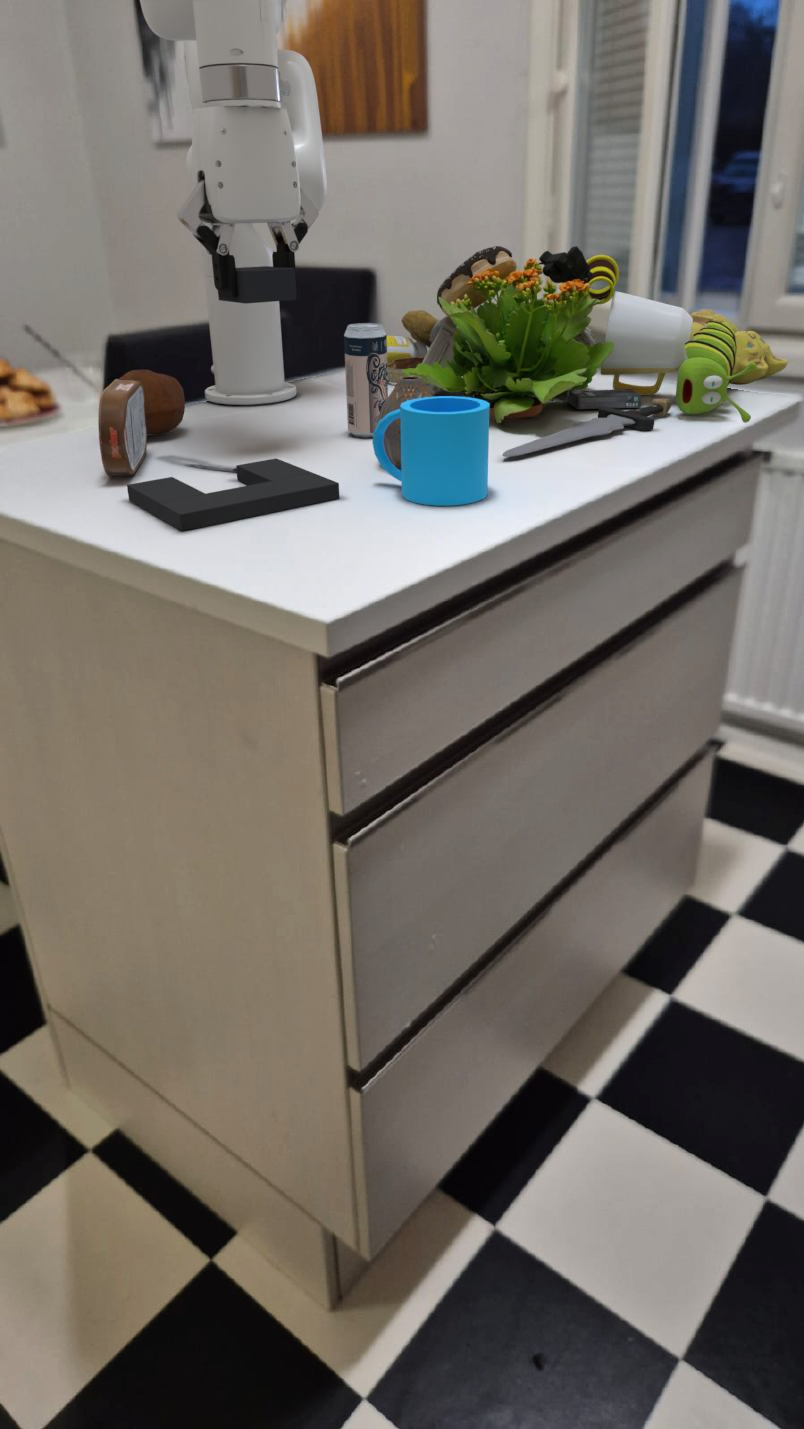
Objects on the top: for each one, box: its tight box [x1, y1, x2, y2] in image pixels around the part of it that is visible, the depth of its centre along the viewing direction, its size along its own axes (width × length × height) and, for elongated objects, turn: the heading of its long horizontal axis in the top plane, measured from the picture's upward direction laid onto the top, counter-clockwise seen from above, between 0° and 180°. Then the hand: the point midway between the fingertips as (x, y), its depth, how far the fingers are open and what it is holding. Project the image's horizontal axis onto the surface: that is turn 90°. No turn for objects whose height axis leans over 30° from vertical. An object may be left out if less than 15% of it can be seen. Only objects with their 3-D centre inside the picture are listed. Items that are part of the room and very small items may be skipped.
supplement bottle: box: [387, 335, 428, 364], centre depth 150 cm, size 5×5×10 cm
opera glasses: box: [558, 254, 620, 318], centre depth 127 cm, size 10×5×5 cm
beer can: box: [343, 322, 389, 438], centre depth 113 cm, size 5×5×12 cm
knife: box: [184, 463, 237, 474], centre depth 104 cm, size 17×1×3 cm
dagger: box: [502, 398, 672, 458], centre depth 113 cm, size 8×32×2 cm, turn 143°
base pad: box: [126, 457, 340, 532], centre depth 93 cm, size 12×16×2 cm
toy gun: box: [538, 245, 593, 284], centre depth 123 cm, size 20×3×6 cm
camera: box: [422, 305, 480, 397], centre depth 136 cm, size 11×6×10 cm
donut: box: [436, 245, 518, 316], centre depth 126 cm, size 11×12×4 cm
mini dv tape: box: [567, 389, 642, 410], centre depth 128 cm, size 8×2×6 cm
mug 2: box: [600, 290, 693, 396], centre depth 129 cm, size 14×10×10 cm
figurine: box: [678, 308, 788, 386], centre depth 139 cm, size 11×9×15 cm
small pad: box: [218, 266, 298, 304], centre depth 103 cm, size 6×6×3 cm
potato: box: [118, 369, 186, 436], centre depth 116 cm, size 8×11×8 cm
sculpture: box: [401, 309, 439, 349], centre depth 154 cm, size 13×4×15 cm
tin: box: [97, 378, 148, 477], centre depth 103 cm, size 15×3×8 cm, turn 5°
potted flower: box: [402, 258, 614, 424], centre depth 122 cm, size 25×24×18 cm
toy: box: [675, 320, 757, 424], centre depth 127 cm, size 8×28×10 cm
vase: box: [378, 376, 434, 469], centre depth 101 cm, size 7×7×9 cm
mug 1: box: [372, 395, 490, 507], centre depth 93 cm, size 12×8×8 cm
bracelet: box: [387, 356, 425, 384], centre depth 146 cm, size 9×9×3 cm
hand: (256, 293), depth 103 cm, fingers closed on small pad, 6 cm apart
